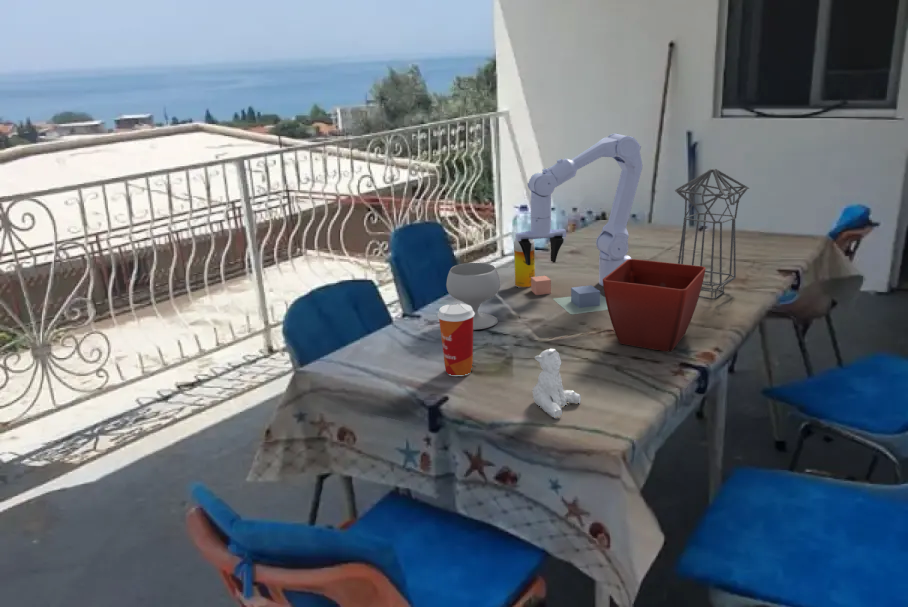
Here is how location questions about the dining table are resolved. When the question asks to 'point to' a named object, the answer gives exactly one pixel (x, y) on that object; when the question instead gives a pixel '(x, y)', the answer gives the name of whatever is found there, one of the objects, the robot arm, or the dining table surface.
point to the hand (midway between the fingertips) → (540, 262)
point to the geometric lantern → (696, 181)
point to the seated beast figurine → (552, 385)
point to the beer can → (523, 265)
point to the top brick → (540, 285)
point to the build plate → (573, 309)
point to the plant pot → (652, 302)
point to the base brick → (585, 296)
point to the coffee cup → (457, 337)
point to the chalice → (474, 289)
